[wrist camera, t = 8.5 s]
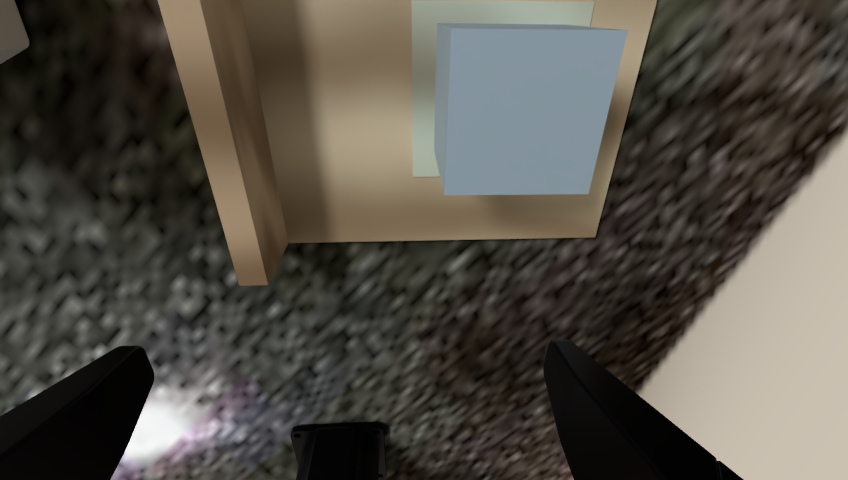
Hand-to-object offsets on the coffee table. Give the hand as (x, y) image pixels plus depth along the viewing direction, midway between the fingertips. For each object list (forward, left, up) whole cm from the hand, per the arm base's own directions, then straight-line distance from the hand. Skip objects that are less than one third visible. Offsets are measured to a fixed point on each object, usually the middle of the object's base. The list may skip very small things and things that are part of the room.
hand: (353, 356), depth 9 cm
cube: (+4, -5, -11) cm, 13 cm away
